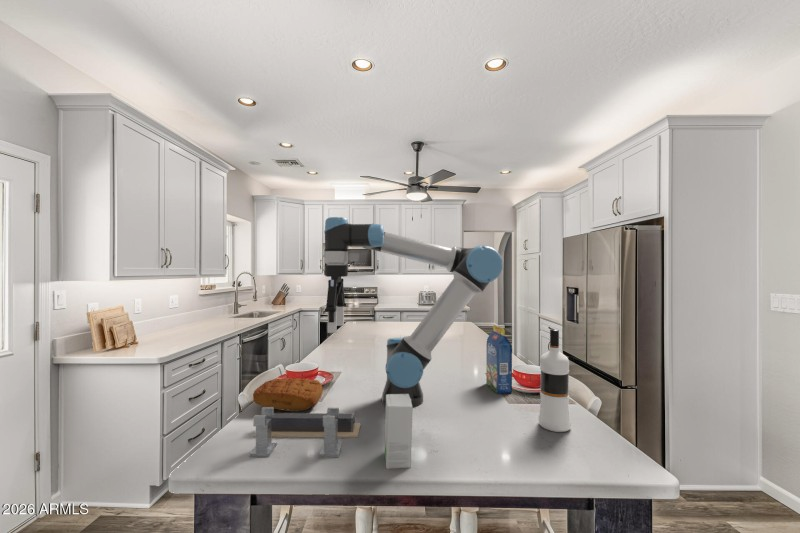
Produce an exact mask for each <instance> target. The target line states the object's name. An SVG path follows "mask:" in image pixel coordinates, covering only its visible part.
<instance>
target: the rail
mask: <svg viewBox="0 0 800 533" xmlns="http://www.w3.org/2000/svg"><path fill="white" fill-rule="evenodd" d="M355 415H356V414H355V412H352V413H339V417H338V418H335V419H338V432H353V430H354V427H355V424H356V423H355V420H356V419H355V418H356V417H355ZM323 416H327V413H314V412H313V413H311V412H309V413H305V412H304V413H297V412H296V413H295V412H294V413H291V412H288V413H287V412H285V413H283V412H281V413H280V412H276V413H275V412H274V416H273V418H266V419H271V432H324V426H323Z"/></svg>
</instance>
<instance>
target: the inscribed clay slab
mask: <svg viewBox="0 0 800 533" xmlns="http://www.w3.org/2000/svg"><path fill="white" fill-rule="evenodd" d="M323 392H324V389H323V385H322V383H321V382H320V381H319V380H317V379H308V378H307V379H306V378H291V377H285V378H283V377H281V378H273V379H271V380H267V381H264V382H263V383H262V384H261V385H259V386H258V387H257V388H256V389H255V390H254V391H253V394H252V396H253V397H252V398H253V403H255V404H256V405H259V406H262V407H274V410H278V411H279V410H280V411H287V412H297V411H305V410H309V409H311V408H313V407H316V406H317V405H318V402H319V400H320V399H321V397H322V395H323Z"/></svg>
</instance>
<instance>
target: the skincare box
mask: <svg viewBox="0 0 800 533" xmlns="http://www.w3.org/2000/svg"><path fill="white" fill-rule="evenodd" d="M413 409H414V407H413V406H412V403H411V399H410V396H409V394H386V404H385V417H384V418H385V420H384V421H385V423H384V424H385V427H384V459H385V469H389V470H390V469H391V470H392V469H408V468H409V469H411V468H412V448H413V447H412V442H413V441H412V439H413Z"/></svg>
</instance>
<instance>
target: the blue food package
mask: <svg viewBox="0 0 800 533" xmlns="http://www.w3.org/2000/svg"><path fill="white" fill-rule="evenodd" d="M492 327H493V328H492V329H493V330H492V331H491V333H490V334H489V335H488V337H487V339H486V371H485V372H486V375H485V376H486V377H485V378H486V384H487V386H488V387H490V388H491V390H493V391H494V392H495V393H496V394H510V393H511V394H512V393H513V348H512V343H511V342H510V341H509V339H508V338H507V337H506V336H505V332H506V331H505V329H504V328H503V327H500V326H498V325H496V324H493V326H492Z"/></svg>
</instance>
